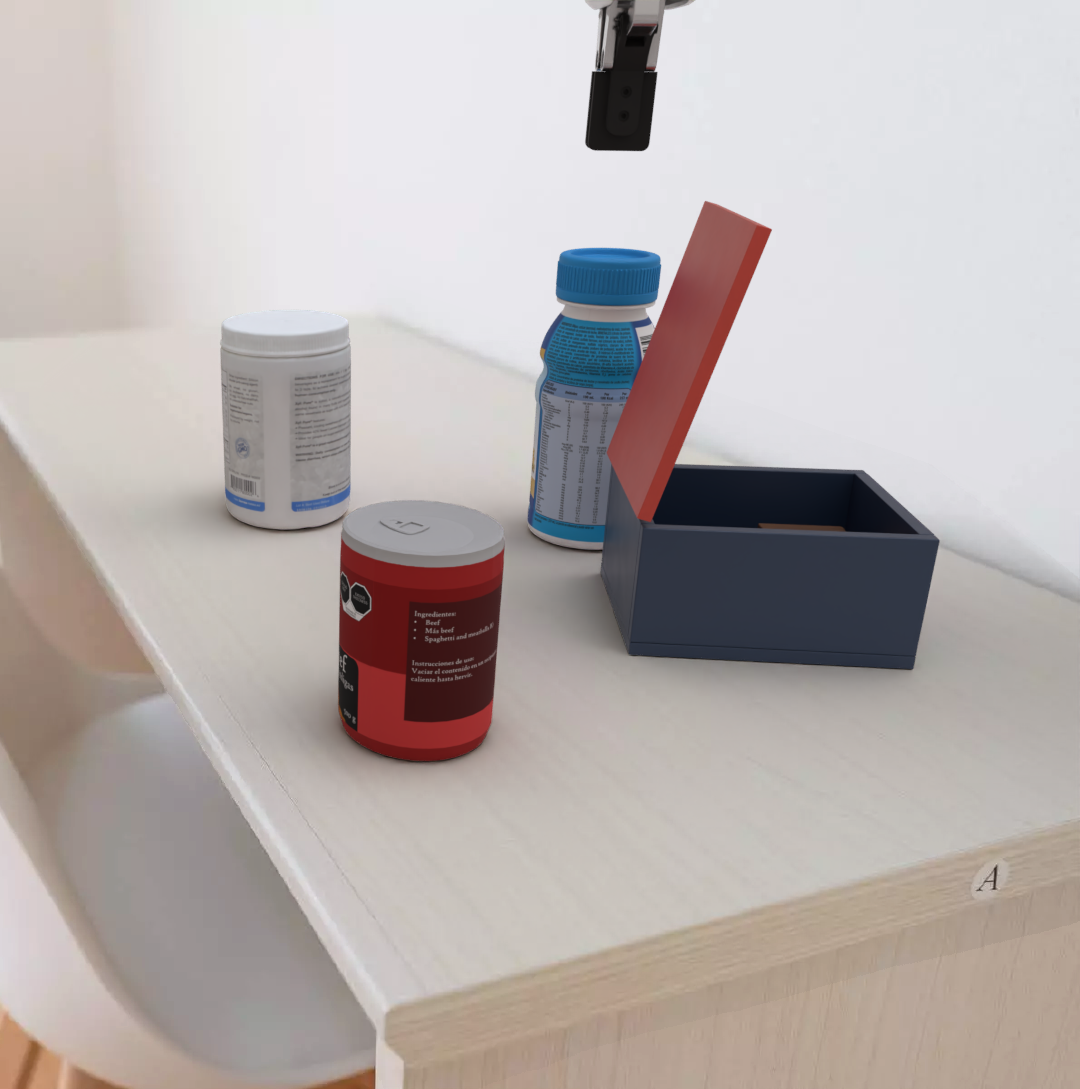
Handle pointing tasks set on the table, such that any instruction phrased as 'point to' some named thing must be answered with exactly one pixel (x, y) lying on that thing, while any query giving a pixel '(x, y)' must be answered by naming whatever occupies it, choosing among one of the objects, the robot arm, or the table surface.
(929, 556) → the storage box
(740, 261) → the lid
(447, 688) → the canned food
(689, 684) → the table surface
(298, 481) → the supplement tub
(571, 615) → the table surface
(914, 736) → the table surface
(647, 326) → the beverage bottle
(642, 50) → the robot arm
